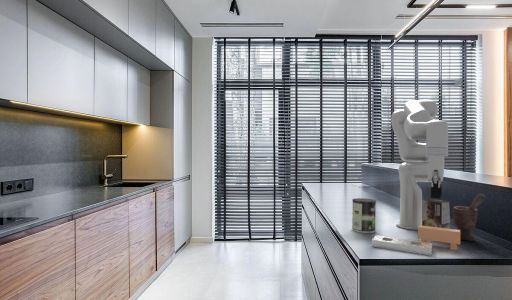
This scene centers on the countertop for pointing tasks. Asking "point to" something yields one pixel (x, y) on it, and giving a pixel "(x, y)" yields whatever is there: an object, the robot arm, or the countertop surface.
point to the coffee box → (436, 213)
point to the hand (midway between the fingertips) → (436, 196)
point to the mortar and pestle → (467, 218)
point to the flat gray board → (402, 245)
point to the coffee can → (363, 215)
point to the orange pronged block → (439, 235)
